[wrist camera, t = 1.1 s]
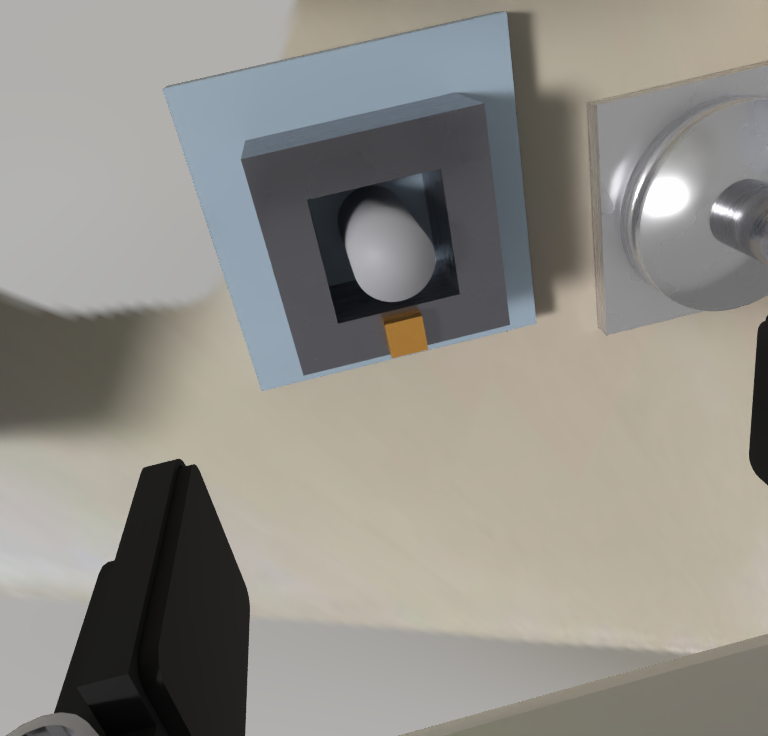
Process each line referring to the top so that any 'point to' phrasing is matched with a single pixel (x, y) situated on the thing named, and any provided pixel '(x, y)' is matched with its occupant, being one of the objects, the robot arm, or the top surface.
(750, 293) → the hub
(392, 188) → the stand
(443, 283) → the grey square socket block
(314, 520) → the top surface
